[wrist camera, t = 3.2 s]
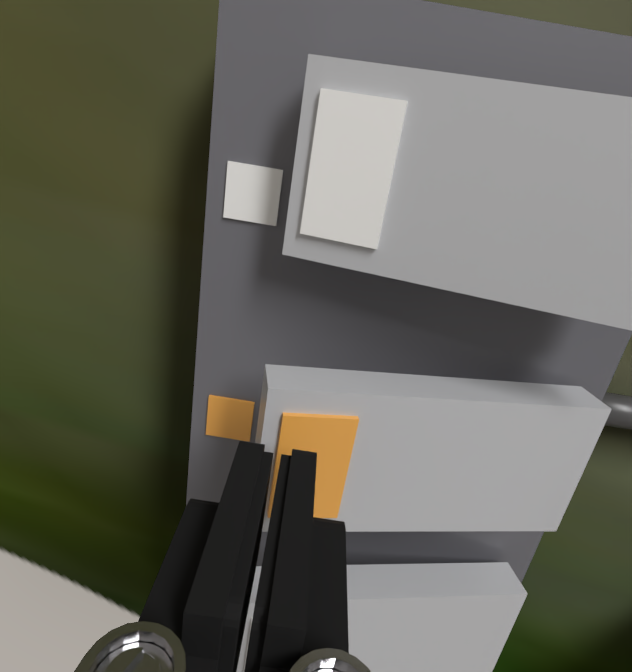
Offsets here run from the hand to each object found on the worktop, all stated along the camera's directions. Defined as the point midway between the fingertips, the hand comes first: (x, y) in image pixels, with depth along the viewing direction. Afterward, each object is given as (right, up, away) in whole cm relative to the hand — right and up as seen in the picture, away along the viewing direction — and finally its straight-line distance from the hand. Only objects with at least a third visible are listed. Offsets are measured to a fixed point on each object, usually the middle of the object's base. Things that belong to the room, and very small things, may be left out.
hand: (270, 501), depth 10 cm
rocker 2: (+4, 0, +3) cm, 5 cm away
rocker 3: (+3, -6, +5) cm, 8 cm away
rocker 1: (+5, +7, 0) cm, 8 cm away
